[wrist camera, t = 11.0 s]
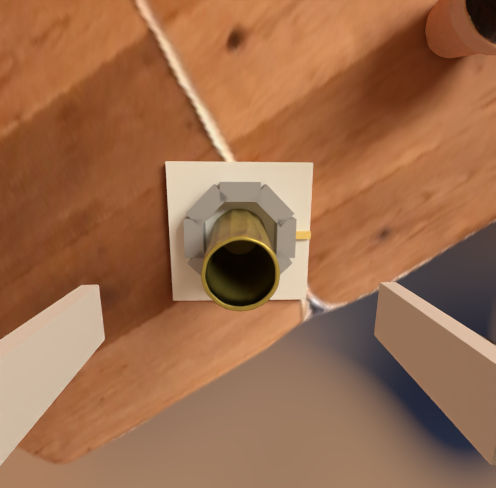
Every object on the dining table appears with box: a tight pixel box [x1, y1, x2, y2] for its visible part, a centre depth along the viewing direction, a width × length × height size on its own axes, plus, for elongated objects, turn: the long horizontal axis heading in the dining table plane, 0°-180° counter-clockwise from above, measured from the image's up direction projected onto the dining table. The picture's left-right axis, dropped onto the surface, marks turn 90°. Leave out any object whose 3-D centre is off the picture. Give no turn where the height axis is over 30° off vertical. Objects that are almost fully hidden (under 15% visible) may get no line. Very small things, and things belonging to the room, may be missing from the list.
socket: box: [165, 161, 313, 301], centre depth 32 cm, size 16×16×4 cm
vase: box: [201, 209, 280, 311], centre depth 26 cm, size 6×6×14 cm
